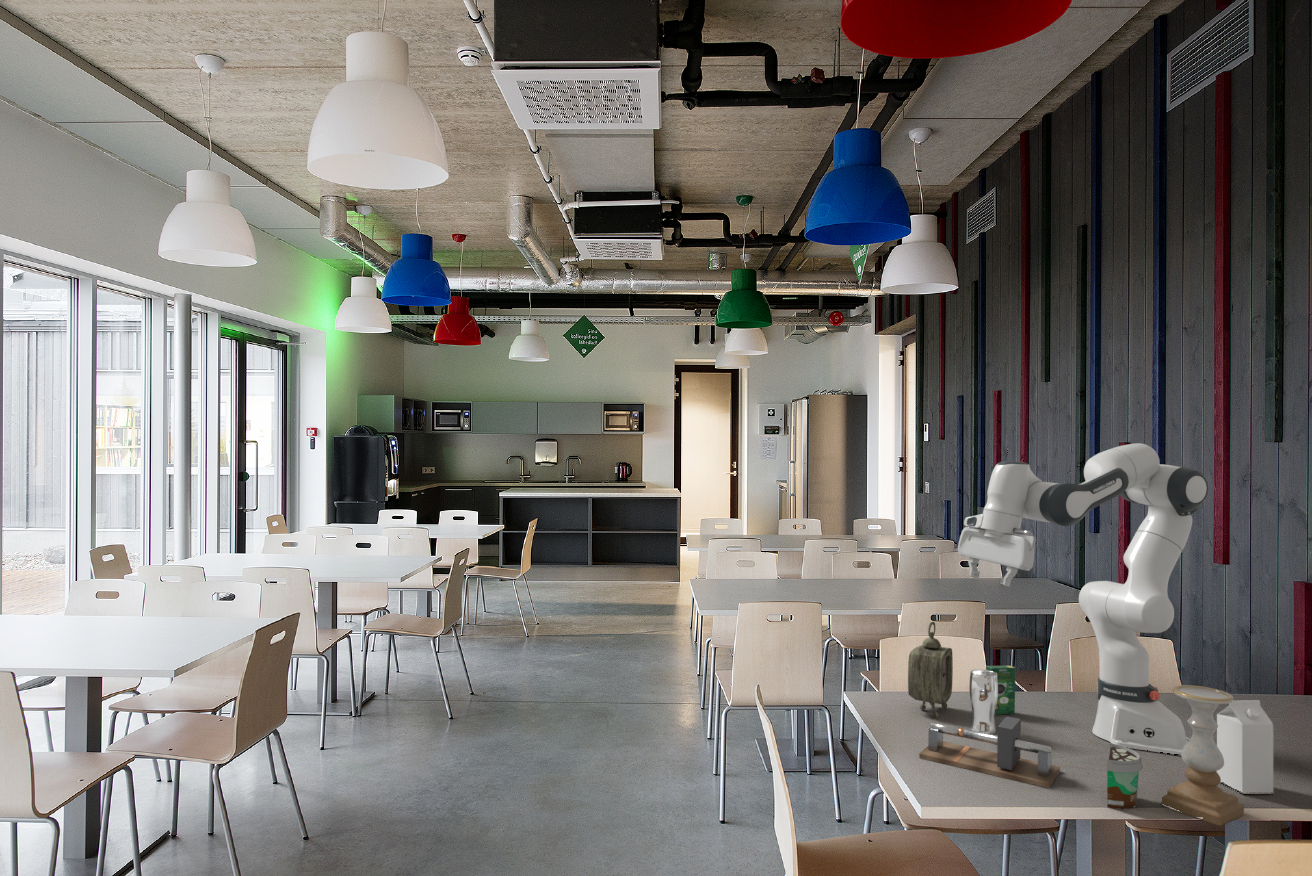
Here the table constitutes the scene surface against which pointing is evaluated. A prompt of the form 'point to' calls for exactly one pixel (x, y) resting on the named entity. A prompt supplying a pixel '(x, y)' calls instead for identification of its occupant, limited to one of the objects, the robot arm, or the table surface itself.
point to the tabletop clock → (930, 672)
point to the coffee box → (1005, 688)
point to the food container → (1122, 777)
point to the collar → (1008, 742)
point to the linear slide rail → (1043, 751)
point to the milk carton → (1246, 746)
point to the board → (989, 764)
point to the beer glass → (983, 700)
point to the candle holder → (1203, 762)
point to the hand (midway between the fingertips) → (988, 581)
